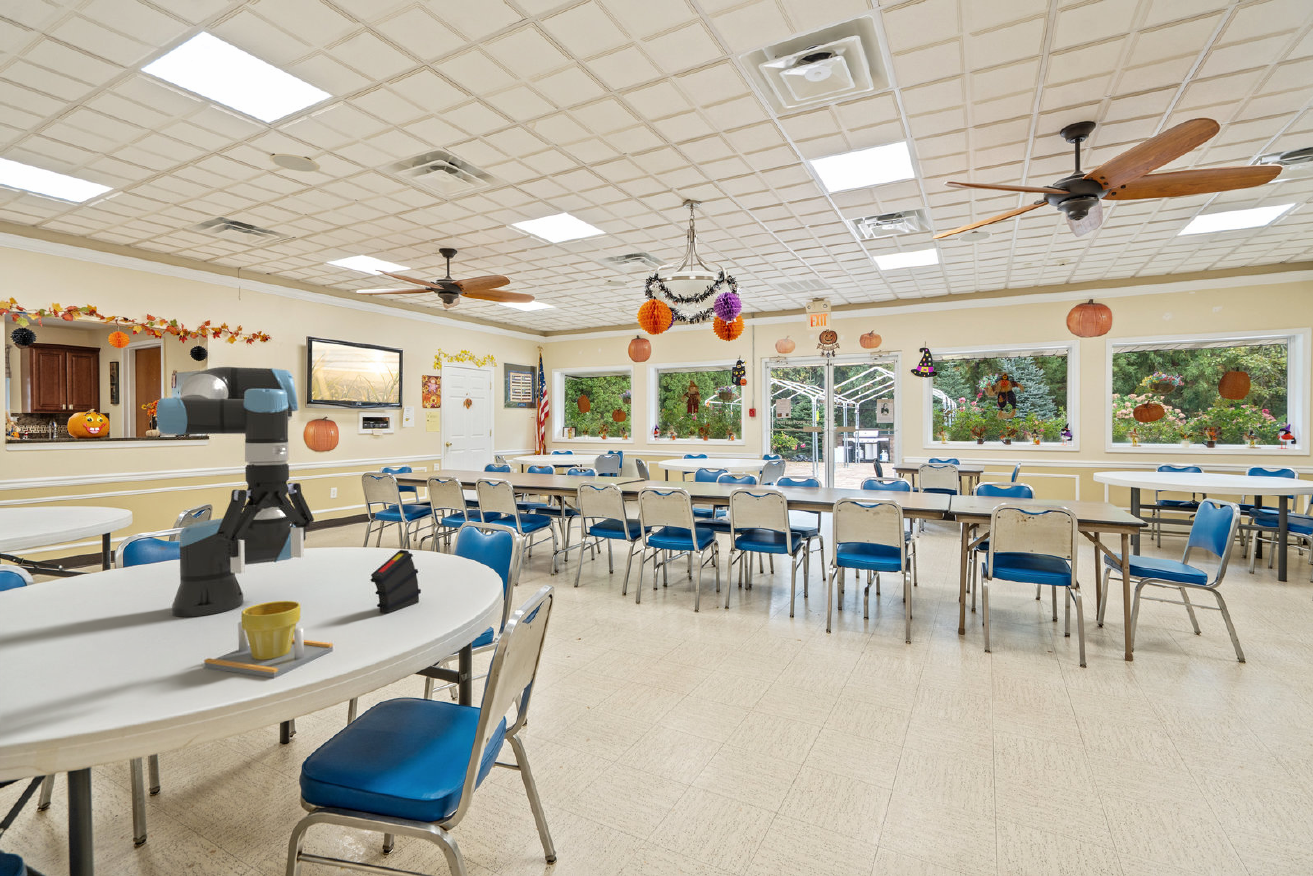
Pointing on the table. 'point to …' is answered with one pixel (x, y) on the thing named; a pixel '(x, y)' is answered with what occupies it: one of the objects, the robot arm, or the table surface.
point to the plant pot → (271, 628)
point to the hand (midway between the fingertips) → (269, 564)
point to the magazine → (396, 583)
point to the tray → (274, 667)
